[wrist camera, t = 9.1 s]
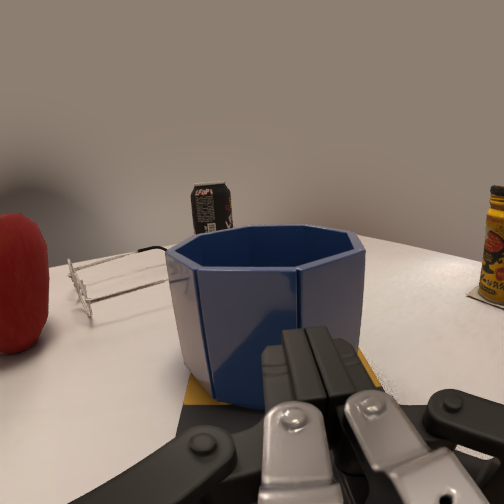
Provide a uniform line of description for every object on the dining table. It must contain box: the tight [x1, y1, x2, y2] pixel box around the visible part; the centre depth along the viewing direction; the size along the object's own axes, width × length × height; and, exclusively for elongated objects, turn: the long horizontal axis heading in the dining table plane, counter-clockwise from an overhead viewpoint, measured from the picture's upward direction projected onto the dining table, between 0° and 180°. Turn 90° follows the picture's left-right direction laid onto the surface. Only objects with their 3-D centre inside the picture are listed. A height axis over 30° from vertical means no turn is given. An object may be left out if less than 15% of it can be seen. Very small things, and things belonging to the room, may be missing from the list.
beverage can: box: [191, 181, 233, 235], centre depth 44 cm, size 6×6×12 cm
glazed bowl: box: [165, 224, 366, 410], centre depth 19 cm, size 11×11×8 cm
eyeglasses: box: [67, 246, 169, 317], centre depth 35 cm, size 16×19×5 cm
